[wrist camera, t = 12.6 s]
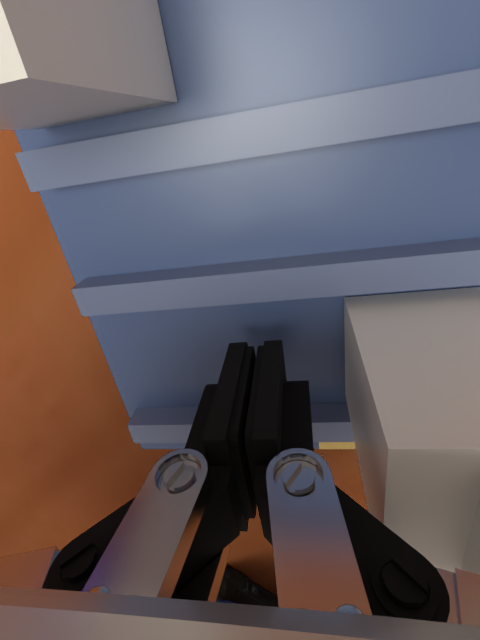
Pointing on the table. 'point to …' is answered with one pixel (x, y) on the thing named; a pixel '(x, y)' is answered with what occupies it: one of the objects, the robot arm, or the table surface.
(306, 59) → the switch board
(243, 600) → the handheld game console
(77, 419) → the table surface
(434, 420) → the white rectangular block
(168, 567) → the robot arm
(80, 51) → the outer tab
